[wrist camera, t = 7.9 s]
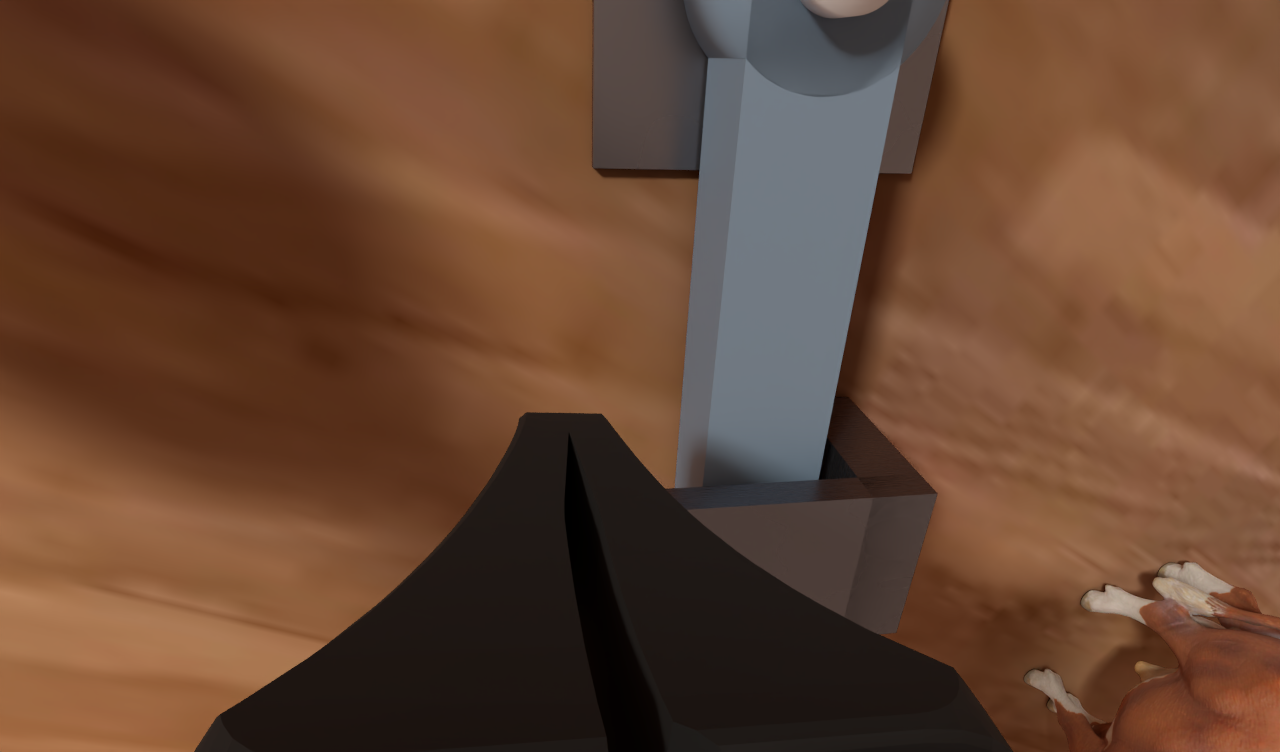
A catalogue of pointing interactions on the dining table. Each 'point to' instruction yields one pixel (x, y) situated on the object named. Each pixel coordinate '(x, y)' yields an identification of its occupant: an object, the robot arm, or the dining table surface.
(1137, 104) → the dining table surface
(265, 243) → the dining table surface
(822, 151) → the link
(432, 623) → the robot arm
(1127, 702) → the bull figurine
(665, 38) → the grey flat square plate
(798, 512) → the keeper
